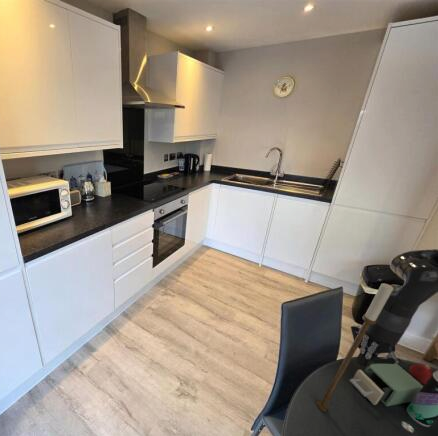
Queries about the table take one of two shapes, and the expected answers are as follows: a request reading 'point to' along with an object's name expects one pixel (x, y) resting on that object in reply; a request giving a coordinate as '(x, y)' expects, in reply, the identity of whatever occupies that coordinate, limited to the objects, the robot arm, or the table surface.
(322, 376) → the table surface
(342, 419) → the table surface
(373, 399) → the fryer drawer
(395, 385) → the green drawer box
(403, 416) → the table surface
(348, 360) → the candlestick
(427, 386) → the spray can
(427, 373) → the onion
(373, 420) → the table surface
